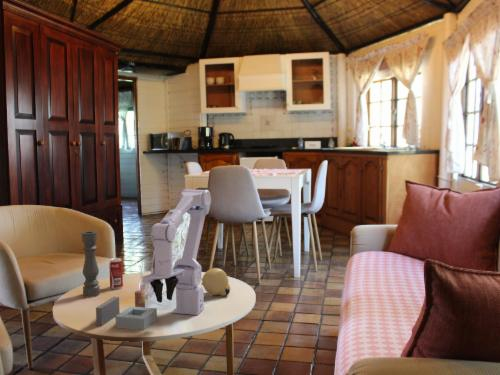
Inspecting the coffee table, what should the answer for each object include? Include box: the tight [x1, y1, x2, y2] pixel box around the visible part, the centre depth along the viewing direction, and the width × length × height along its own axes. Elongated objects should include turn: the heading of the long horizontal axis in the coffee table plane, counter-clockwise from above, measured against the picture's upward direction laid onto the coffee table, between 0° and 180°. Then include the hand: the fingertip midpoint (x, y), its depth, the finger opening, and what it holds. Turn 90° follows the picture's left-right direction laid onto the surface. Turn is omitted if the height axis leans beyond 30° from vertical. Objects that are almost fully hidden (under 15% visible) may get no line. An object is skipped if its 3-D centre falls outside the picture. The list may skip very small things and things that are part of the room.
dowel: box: [134, 290, 146, 308], centre depth 175 cm, size 4×4×7 cm
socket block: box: [115, 306, 158, 331], centre depth 164 cm, size 10×10×4 cm
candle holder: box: [81, 230, 101, 298], centre depth 193 cm, size 6×6×25 cm
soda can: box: [108, 257, 124, 290], centre depth 203 cm, size 5×5×12 cm
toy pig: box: [200, 267, 231, 297], centre depth 194 cm, size 10×12×11 cm
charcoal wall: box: [95, 296, 121, 327], centre depth 167 cm, size 2×12×6 cm, turn 167°
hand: (164, 300), depth 161 cm, fingers open, 3 cm apart
